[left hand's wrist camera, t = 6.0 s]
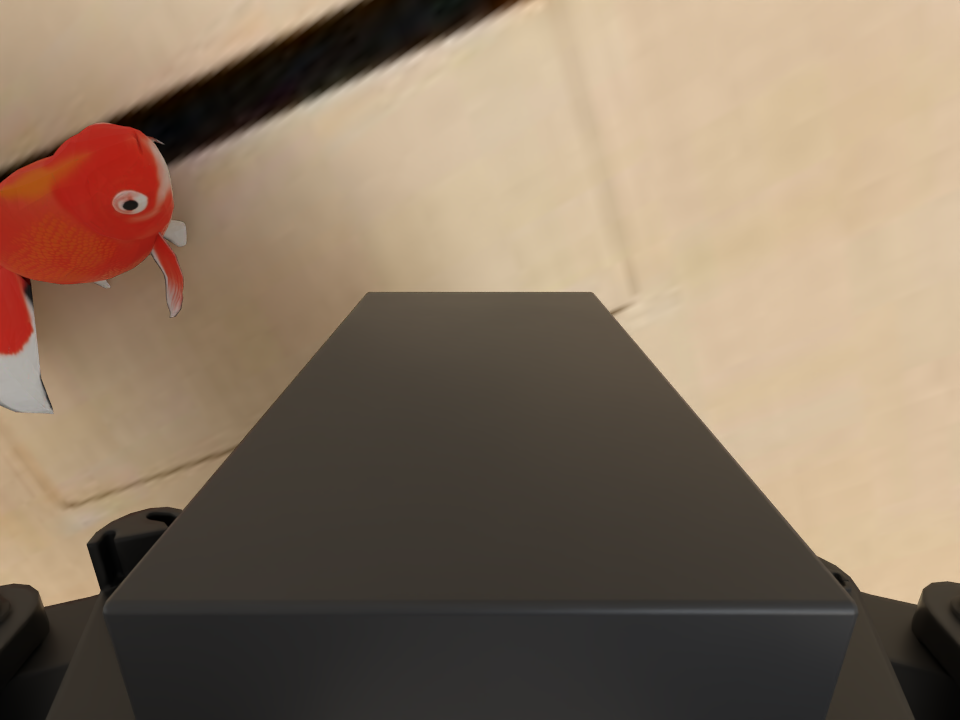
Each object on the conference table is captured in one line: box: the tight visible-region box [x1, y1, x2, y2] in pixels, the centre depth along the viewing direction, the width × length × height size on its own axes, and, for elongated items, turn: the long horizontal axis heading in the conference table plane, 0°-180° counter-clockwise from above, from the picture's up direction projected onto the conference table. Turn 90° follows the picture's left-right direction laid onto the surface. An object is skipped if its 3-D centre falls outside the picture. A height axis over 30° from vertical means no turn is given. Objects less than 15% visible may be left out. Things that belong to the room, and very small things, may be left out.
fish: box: [0, 122, 187, 414], centre depth 21 cm, size 11×16×10 cm
